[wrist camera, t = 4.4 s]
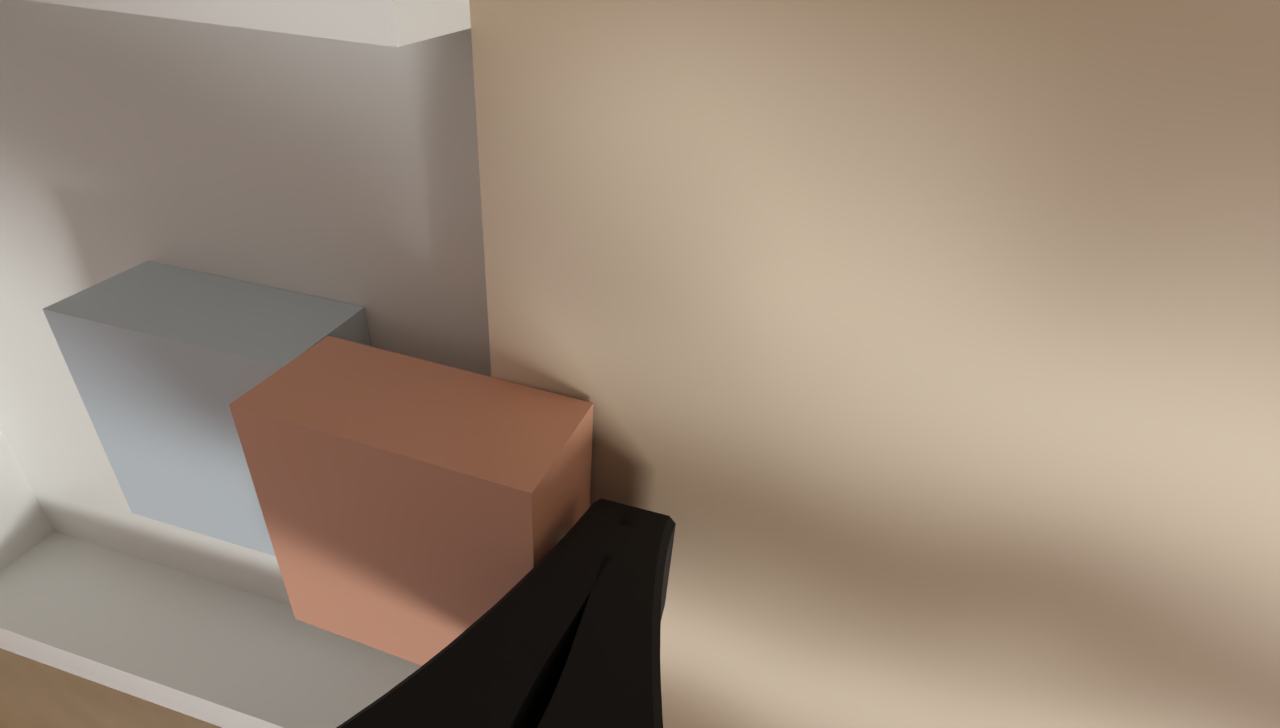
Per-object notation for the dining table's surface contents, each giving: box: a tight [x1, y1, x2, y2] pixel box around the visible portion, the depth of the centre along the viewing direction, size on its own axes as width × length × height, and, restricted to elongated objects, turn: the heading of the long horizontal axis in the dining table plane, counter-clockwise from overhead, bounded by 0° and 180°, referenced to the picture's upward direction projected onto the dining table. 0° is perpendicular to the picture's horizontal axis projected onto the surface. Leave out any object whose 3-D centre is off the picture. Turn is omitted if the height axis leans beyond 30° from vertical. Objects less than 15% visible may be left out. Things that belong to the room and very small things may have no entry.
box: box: [0, 0, 491, 728], centre depth 13 cm, size 16×15×4 cm
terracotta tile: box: [229, 336, 593, 666], centre depth 11 cm, size 4×4×2 cm
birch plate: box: [469, 0, 1280, 728], centre depth 11 cm, size 16×12×2 cm
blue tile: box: [43, 261, 371, 556], centre depth 13 cm, size 4×4×2 cm
